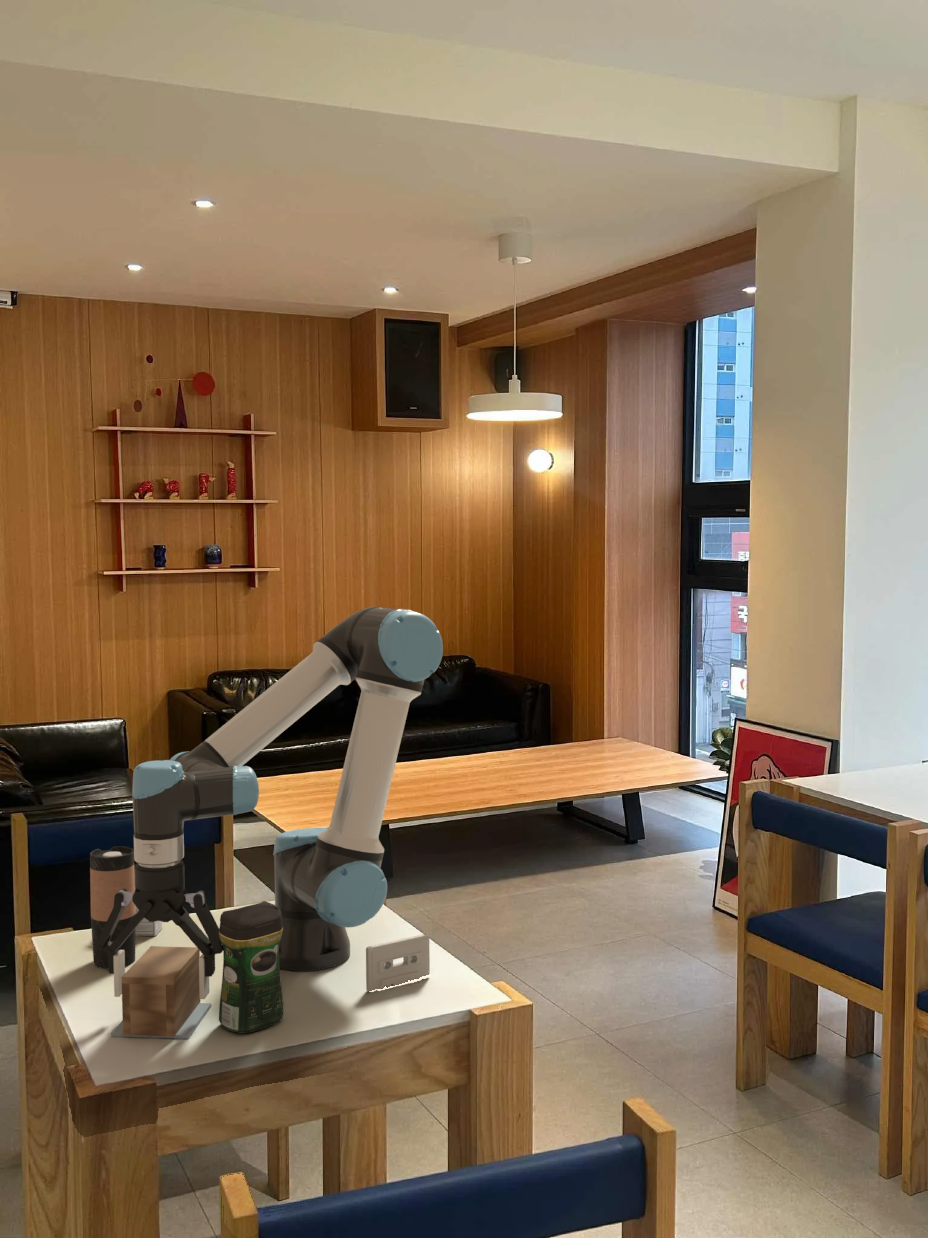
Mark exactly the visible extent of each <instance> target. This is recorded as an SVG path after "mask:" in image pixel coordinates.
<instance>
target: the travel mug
mask: <svg viewBox="0 0 928 1238" xmlns="http://www.w3.org/2000/svg"><path fill="white" fill-rule="evenodd" d="M89 866H90V867H89V875H90V876H89V877H90V878H89V882H90V883H89V884H90V885H89V886H90V889H89V891H90V921H91V922H90V924H91V941H92V955H93V957H92V959H93V965H94V967H96V968H99V969H103V970H108V955H107V953H106V952H104V951H102V950H100V951H98V950H96V948H95V945H96V943H97V941H98V939H99V937H100V935H101V933H102V930H103V928H104V926H105V924H106V922H107V920H108V918H109V916H110V914H111V911H112V909H113V907H114V897H115V895H116V894H117V893H118V892H119V891H120V890H121V889H126V890H127V892H133V893H134V892H135V875H134V866H135V860H134V848H131V847H129V846H120V845H119V846H118V845H117V846H115V845H114V846H112V847H111V848H110V849H108V850H101V849H99V848H97V849H93V850H92V851H91V852H90V853H89ZM135 915H136V906H135V904H134V903H133V901H130V903H129V904H128V905H127V906H126V907H125V909H124V911H123V913H122V915H121V917H120V919H119V922H118V924H117V926H116V928H115V930H114V932H113V934H112V936H111V938H110V940H109V941H111V942H113V941H114V940H115V939H116V938H117V937H118V935H119V934H120V933H121V932H122V931H123V929H124V928H125V927H126V926H127V925H128V923H129V922H130V921H131V920H132V918H133V917H134V916H135ZM136 937H137V936H136V928H135V930H134V931H133V932H132V933H131V934H130V936H129V937H128V938H127V939H126V940H125V942H124V943H123V944H122V945H121V946H120V948H119V950H125V967H128V966H130V965H132V964H133V963H134V962H136V939H137V938H136ZM131 963H132V964H131ZM127 965H128V966H127Z"/></svg>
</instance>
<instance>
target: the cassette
mask: <svg viewBox="0 0 928 1238" xmlns="http://www.w3.org/2000/svg"><path fill="white" fill-rule="evenodd" d="M402 958H403V962H402V961H401V962H398V963H394V960H398V959H402ZM430 958H431V957H430V935H428V934H427V933H423V934H419V935H418V934H417V935H415V936H409V937H405V938H400V939H396V940H392V941H388V942H383V943H379V944H374V945H370V946H366V949H365V978H366V979H365V981H366V982H365V986H366V987H365V988H366V992H367V991H372V990H375V989H383V988H384V987H385V986H386V987H387V988H388V987H390V986H395V985H399V984H402V983H405V982H408V980H410V981H411V980H414V979H419V978H420V977H422V976H426V975H429V974H431V973H430V969H431V968H430V964H431V963H430Z"/></svg>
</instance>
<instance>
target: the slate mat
mask: <svg viewBox="0 0 928 1238" xmlns="http://www.w3.org/2000/svg"><path fill="white" fill-rule="evenodd" d="M211 1008H212V1003H211V1002H209V1003H208V1002H200V1003H199V1004H198V1006H197V1007H196V1008H195V1010H194V1011H193V1012H192V1014H191V1015H190V1016H189V1018H188V1019H187V1020H186V1022H185V1023H184V1025H183V1026H182V1027H181V1029H180V1030H179V1031H178V1033H177V1034H176V1035H175V1036H145V1035H123V1019H122V1020H121V1021H120V1022H119V1023H118V1024H117V1025H116V1026H115V1028H114V1029H113V1030H112V1031H111V1033H110V1036H111V1037H121V1038H122V1037H123V1038H124V1037H125V1038H130V1037H131V1038H150V1039H151V1038H152V1039H153V1038H154V1039H155V1038H157V1039H158V1038H159V1039H186V1040H187V1039H188V1040H189V1038H190V1037H191V1036H192V1034H193V1033H195V1030H196V1029H197V1027H198V1026H199V1024H200V1023H201V1022H202V1020H203V1019H204V1018H205V1016H206V1015H207V1014H208V1012H209V1011H210V1009H211Z"/></svg>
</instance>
